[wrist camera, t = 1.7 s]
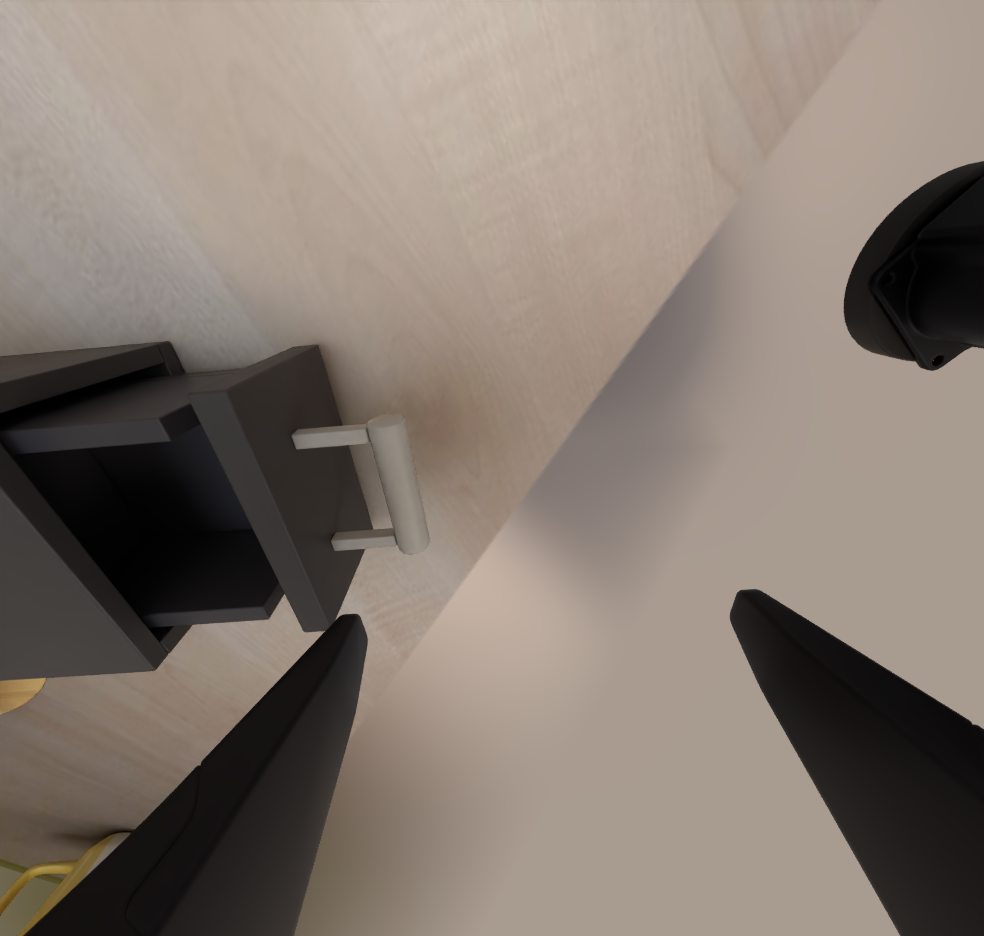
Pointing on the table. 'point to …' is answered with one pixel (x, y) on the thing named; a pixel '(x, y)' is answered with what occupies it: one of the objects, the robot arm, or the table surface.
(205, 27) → the table surface
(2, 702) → the stack of yellow boxes
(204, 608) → the drawer
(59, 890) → the mug
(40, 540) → the black box
